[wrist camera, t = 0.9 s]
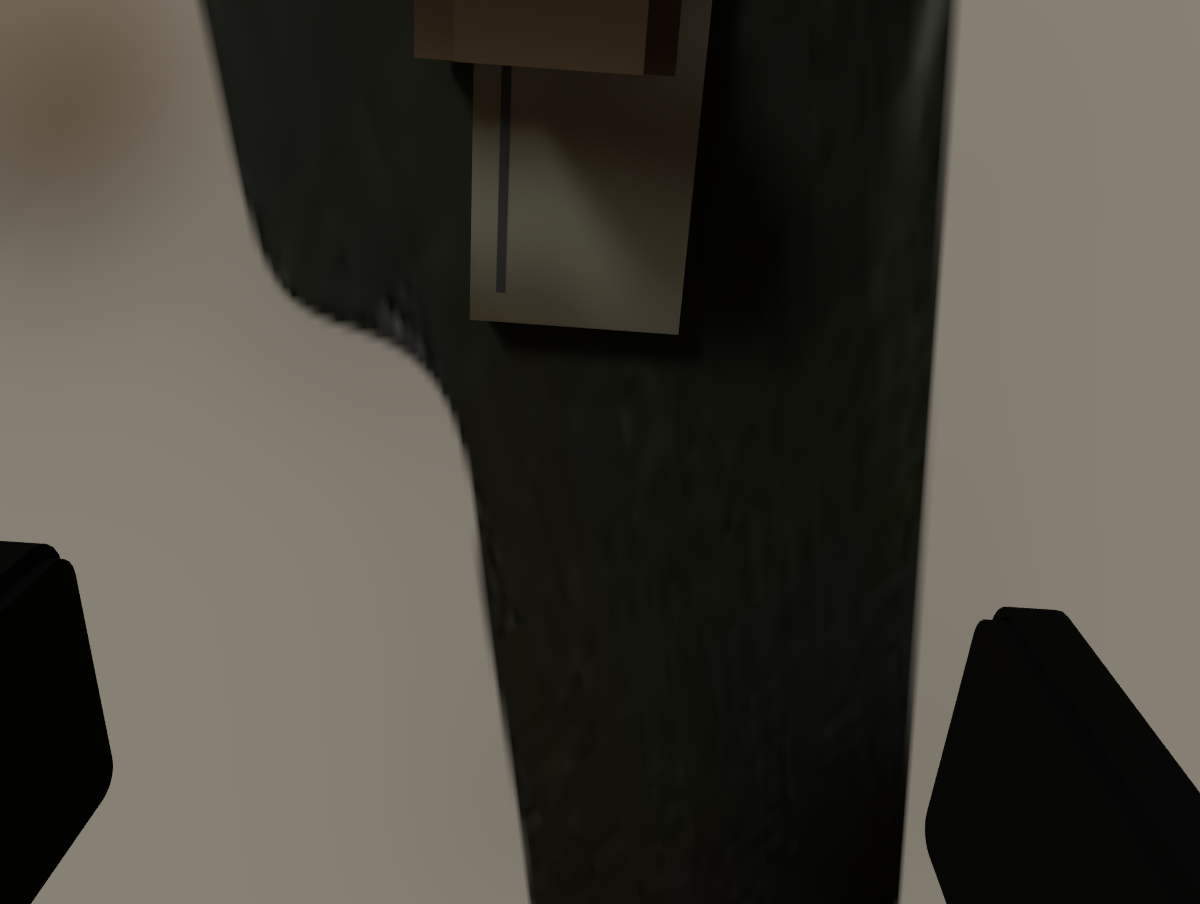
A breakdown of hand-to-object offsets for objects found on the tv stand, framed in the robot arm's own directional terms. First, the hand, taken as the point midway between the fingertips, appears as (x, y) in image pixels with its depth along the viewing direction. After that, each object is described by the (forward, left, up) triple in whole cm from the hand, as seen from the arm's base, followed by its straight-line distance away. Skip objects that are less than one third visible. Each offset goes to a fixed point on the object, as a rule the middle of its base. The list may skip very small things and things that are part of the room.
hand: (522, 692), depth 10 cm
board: (-5, -1, -25) cm, 25 cm away
